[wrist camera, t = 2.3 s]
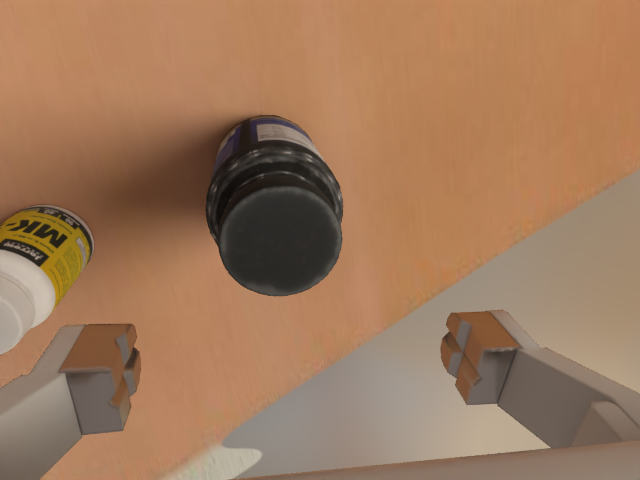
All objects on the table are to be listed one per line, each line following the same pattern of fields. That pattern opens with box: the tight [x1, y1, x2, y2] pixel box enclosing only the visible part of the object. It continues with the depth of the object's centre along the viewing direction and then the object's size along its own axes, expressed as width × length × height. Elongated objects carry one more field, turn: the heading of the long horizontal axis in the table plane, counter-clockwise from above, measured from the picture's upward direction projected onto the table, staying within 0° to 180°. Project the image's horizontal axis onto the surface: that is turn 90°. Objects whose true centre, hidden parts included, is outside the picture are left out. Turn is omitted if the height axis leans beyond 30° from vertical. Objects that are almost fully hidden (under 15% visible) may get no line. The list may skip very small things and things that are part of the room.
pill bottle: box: [206, 115, 343, 296], centre depth 20 cm, size 6×6×11 cm
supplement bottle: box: [0, 205, 94, 355], centre depth 21 cm, size 5×5×8 cm
